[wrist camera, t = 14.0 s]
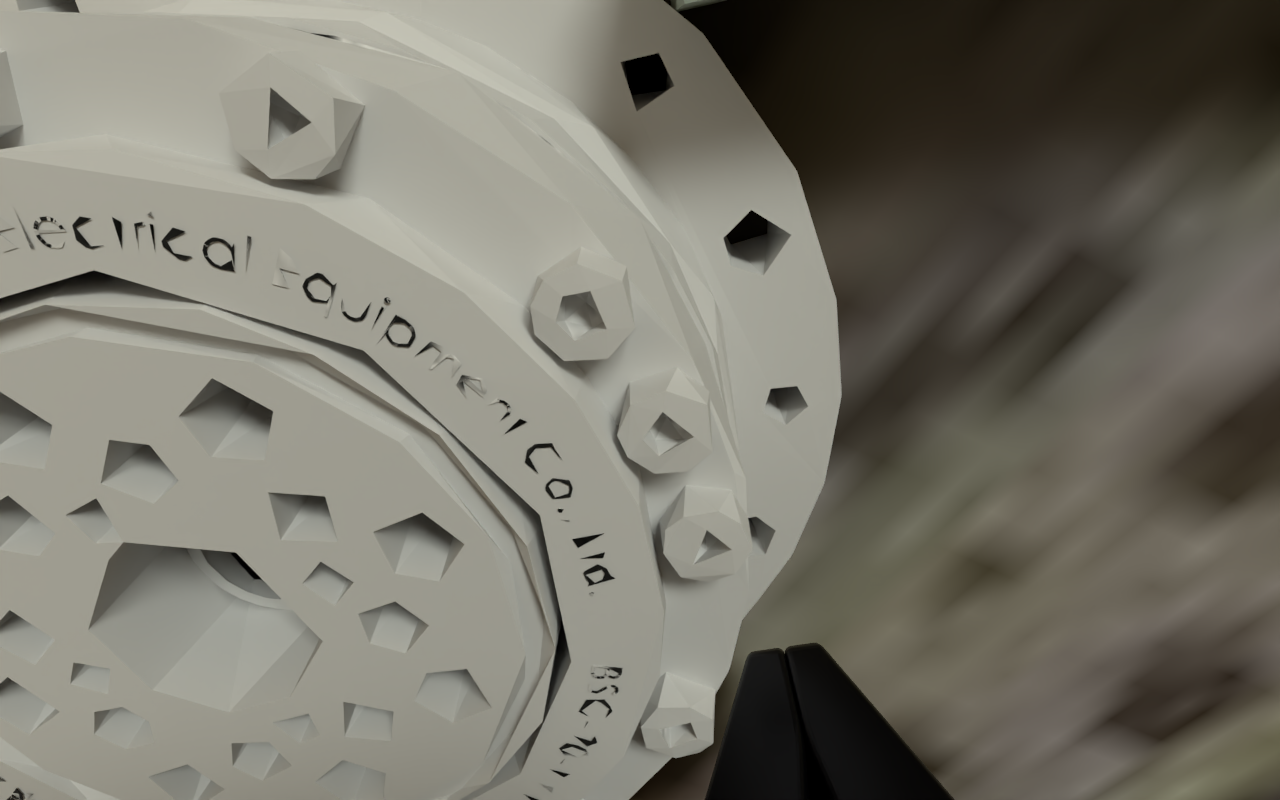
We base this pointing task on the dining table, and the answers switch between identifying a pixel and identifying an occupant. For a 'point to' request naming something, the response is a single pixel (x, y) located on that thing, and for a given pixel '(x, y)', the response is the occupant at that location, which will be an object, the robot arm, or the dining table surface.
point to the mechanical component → (388, 396)
